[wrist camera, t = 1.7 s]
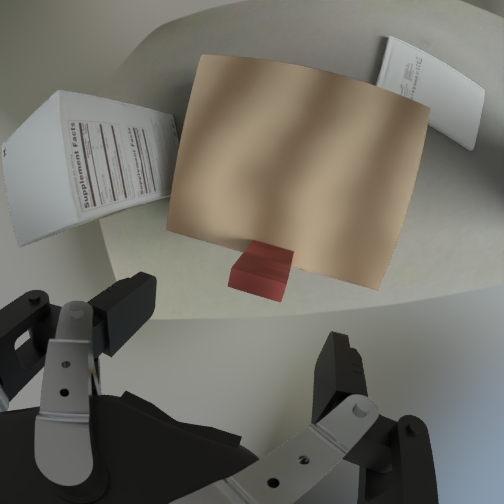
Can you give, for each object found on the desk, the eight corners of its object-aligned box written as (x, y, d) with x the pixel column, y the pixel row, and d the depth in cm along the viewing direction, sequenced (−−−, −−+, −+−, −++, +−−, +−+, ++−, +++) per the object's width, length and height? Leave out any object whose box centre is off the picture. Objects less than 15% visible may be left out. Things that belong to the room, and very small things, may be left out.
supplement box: (127, 210, 32) (16, 250, 16) (111, 141, 29) (-3, 146, 14) (193, 190, 29) (78, 225, 14) (175, 112, 27) (56, 85, 11)
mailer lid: (426, 109, 16) (467, 91, 9) (376, 286, 21) (395, 332, 15) (204, 57, 18) (165, 26, 12) (170, 227, 23) (123, 251, 17)
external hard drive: (466, 150, 22) (370, 98, 23) (478, 91, 19) (386, 39, 20) (473, 150, 20) (373, 95, 21) (485, 89, 17) (390, 33, 18)
